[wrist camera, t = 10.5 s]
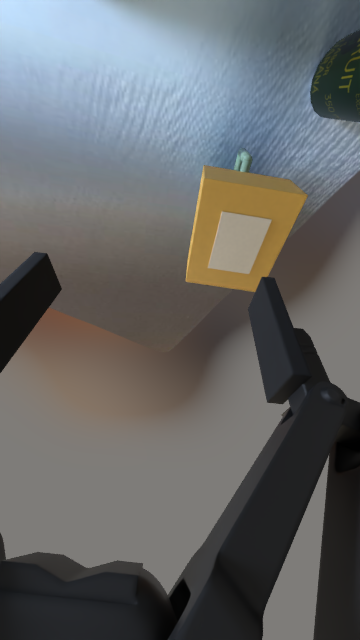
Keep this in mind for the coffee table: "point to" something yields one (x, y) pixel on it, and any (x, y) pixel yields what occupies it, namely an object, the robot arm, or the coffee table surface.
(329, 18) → the coffee table surface
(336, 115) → the beer can
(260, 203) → the tea packet
